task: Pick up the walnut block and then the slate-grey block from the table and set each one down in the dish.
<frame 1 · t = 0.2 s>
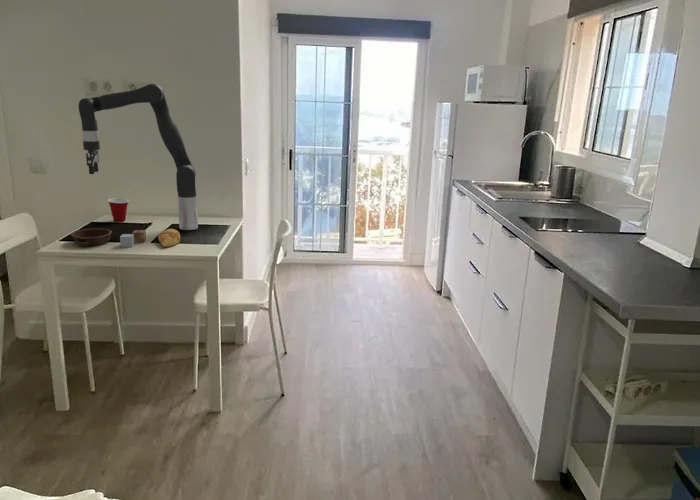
hand: (94, 172, 279), 29 cm above the table, tool pointing down, fingers open, 8 cm apart
grey block: (127, 245, 258), on the table
plastic cup: (120, 221, 305), on the table
croissant: (169, 243, 266), on the table
dish: (92, 243, 262), on the table
walnut block: (139, 241, 267), on the table
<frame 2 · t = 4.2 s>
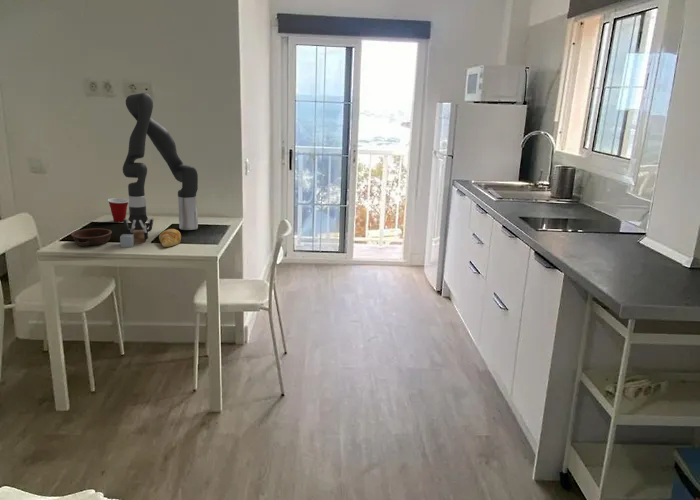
hand: (139, 239, 266), 1 cm above the table, tool pointing down, fingers closed on walnut block, 5 cm apart
walnut block: (139, 241, 267), on the table, touching gripper
everything else where it was.
when the fingers open (7 cm above the table, at t = 7.8 s): walnut block drops 2 cm, resting on dish.
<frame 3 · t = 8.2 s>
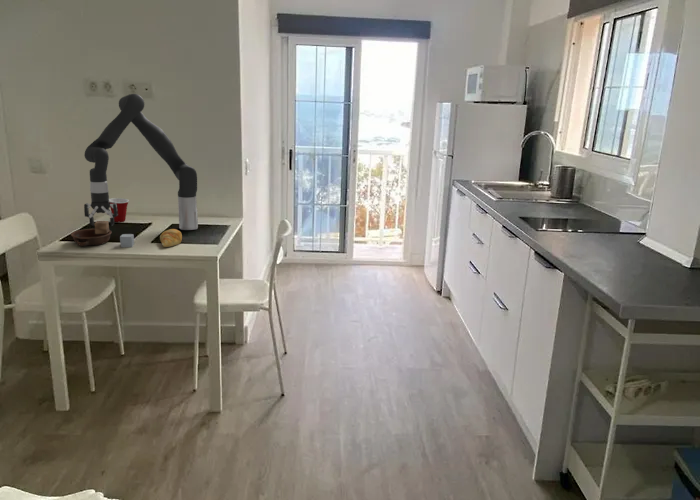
hand: (102, 225, 261), 8 cm above the table, tool pointing down, fingers open, 8 cm apart
dish: (92, 243, 262), on the table, touching walnut block
walnut block: (102, 232, 261), point 5 cm above the table, touching dish
everything else where it was.
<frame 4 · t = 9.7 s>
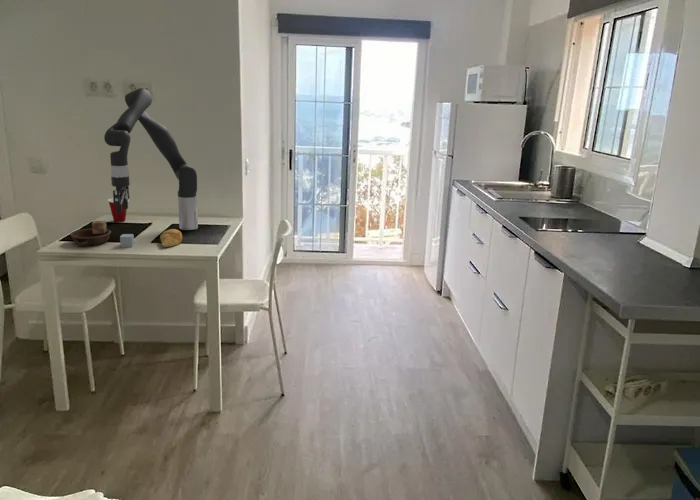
hand: (122, 210, 254), 16 cm above the table, tool pointing down, fingers open, 8 cm apart
walnut block: (99, 232, 261), point 5 cm above the table, touching dish
everything else where it was.
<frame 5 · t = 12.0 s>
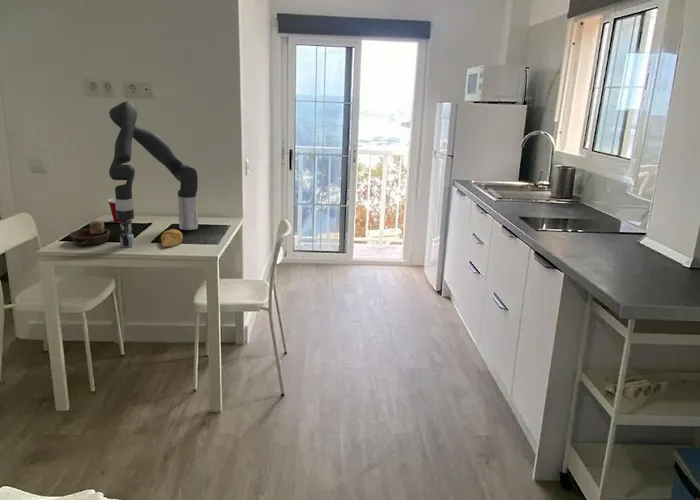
hand: (127, 244, 258), 1 cm above the table, tool pointing down, fingers closed on grey block, 5 cm apart
grey block: (127, 245, 258), on the table, touching gripper
dish: (90, 243, 262), on the table
walnut block: (97, 232, 262), point 5 cm above the table
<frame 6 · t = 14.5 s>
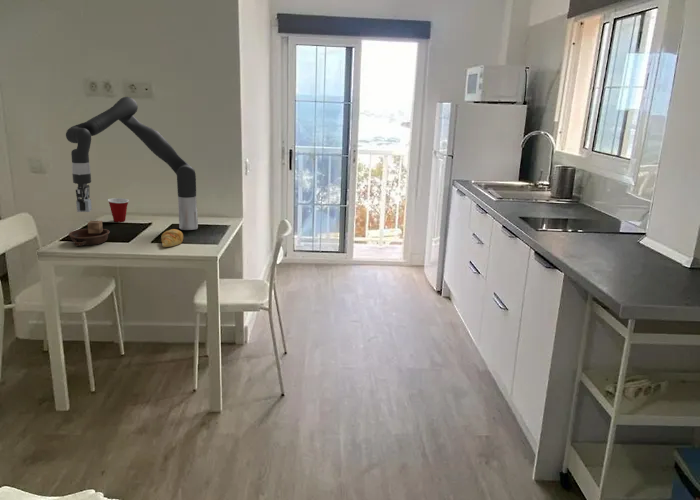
hand: (84, 209, 257), 16 cm above the table, tool pointing down, fingers closed on grey block, 5 cm apart
grey block: (84, 210, 257), point 15 cm above the table, touching gripper
dish: (90, 242, 262), on the table, touching walnut block
walnut block: (95, 232, 262), point 5 cm above the table, touching dish
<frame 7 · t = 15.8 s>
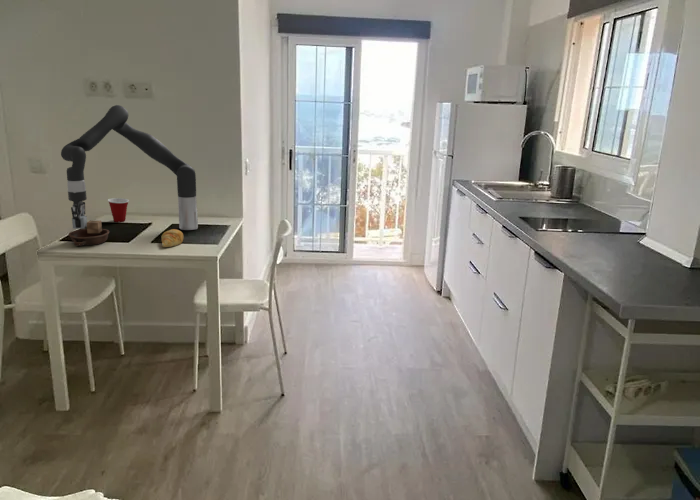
hand: (80, 225, 260), 8 cm above the table, tool pointing down, fingers closed on grey block, 5 cm apart
grey block: (80, 227, 260), point 7 cm above the table, touching gripper
when the fingers open (7 cm above the table, at t = 16.2 s): grey block drops 2 cm, resting on dish.
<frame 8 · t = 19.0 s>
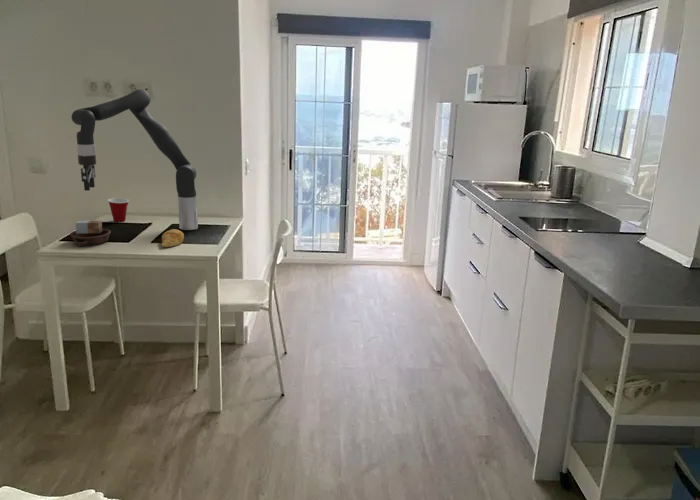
hand: (89, 188, 262), 24 cm above the table, tool pointing down, fingers open, 8 cm apart
grey block: (83, 232, 261), point 5 cm above the table, touching dish
dish: (91, 242, 263), on the table, touching grey block, walnut block
at the end: walnut block inside the target area on the dish (2.1 cm from its centre), point 5.2 cm above the dish's base; grey block inside the target area on the dish (3.0 cm from its centre), point 5.2 cm above the dish's base; the gripper is holding nothing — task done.
